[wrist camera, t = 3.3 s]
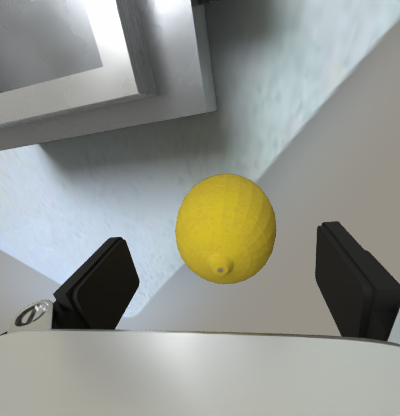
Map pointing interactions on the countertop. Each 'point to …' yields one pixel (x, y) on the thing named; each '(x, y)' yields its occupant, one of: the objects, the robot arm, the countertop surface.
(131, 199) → the countertop surface
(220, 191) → the lemon
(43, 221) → the countertop surface
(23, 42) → the housing
